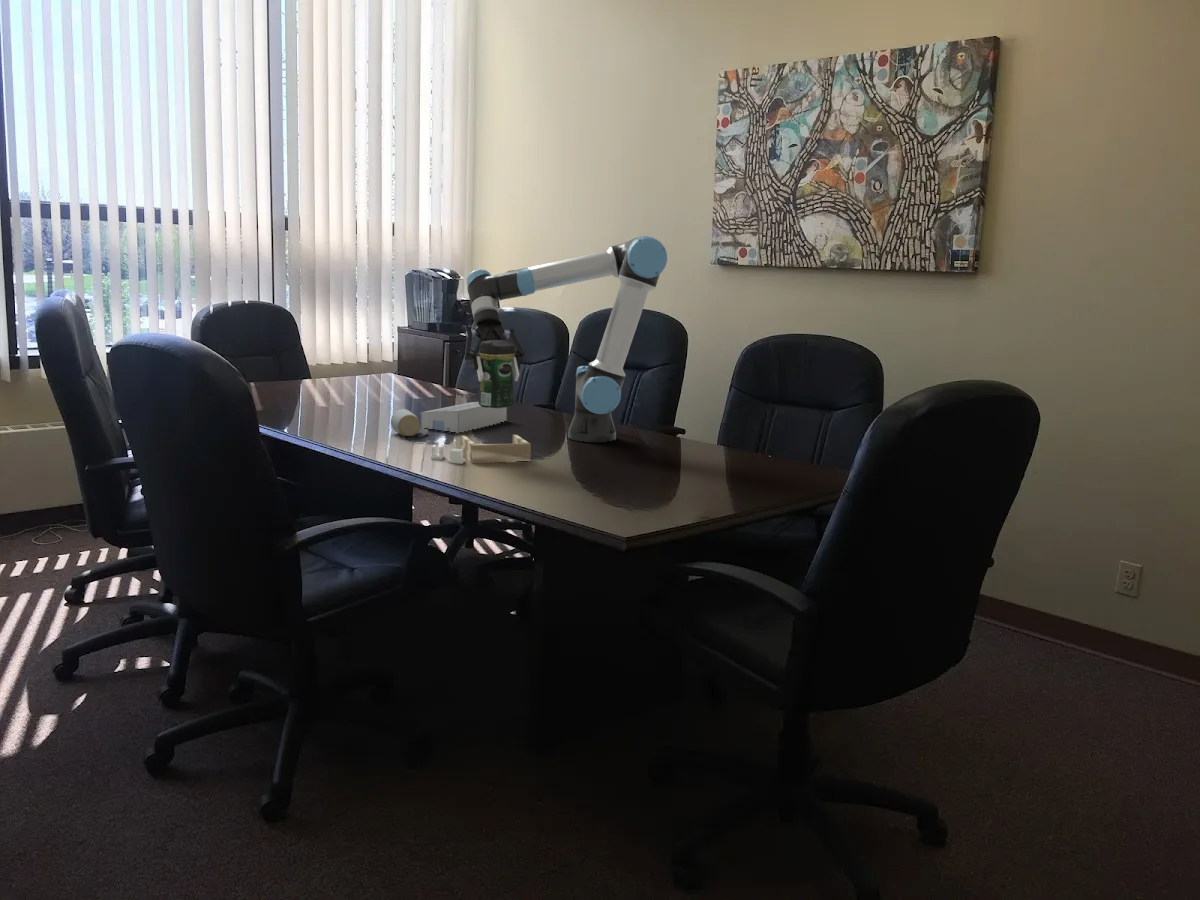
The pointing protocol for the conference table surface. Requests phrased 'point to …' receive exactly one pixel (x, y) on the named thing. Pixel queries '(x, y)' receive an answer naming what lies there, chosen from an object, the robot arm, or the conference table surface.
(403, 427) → the ceramic mug
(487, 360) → the coffee jar
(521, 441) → the wooden u-shaped piece
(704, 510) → the conference table surface
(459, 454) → the cable clips
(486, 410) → the white bar
